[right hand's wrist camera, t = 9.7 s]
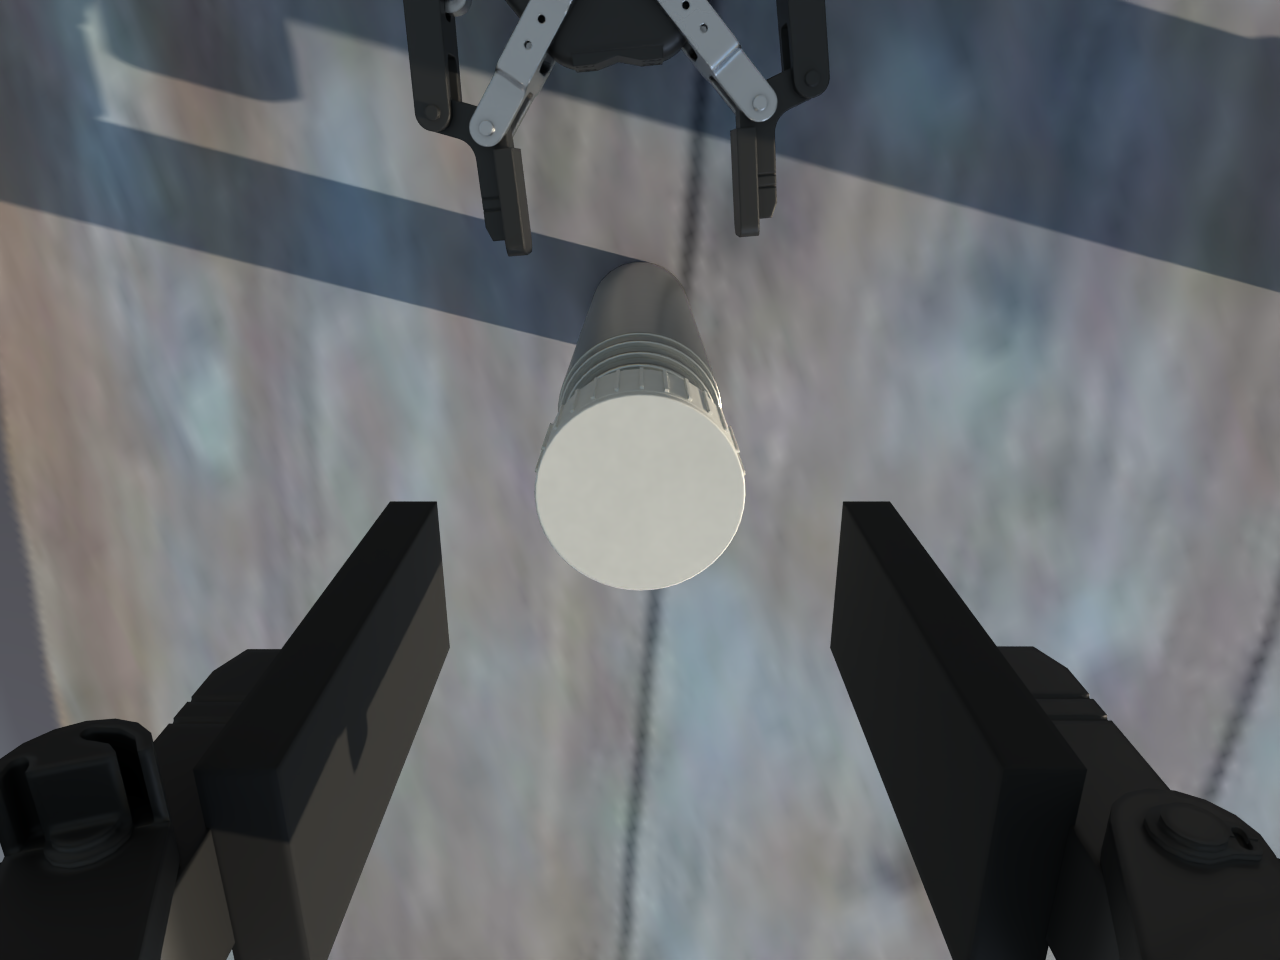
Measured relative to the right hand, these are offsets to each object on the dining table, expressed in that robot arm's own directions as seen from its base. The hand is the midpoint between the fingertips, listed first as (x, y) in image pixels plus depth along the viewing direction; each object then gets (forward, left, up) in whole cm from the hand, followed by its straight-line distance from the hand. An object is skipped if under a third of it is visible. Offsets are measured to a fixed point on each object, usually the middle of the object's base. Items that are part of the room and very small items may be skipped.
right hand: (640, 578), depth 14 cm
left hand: (+1, +3, -20) cm, 21 cm away
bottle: (0, 0, -27) cm, 27 cm away
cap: (0, 0, -4) cm, 4 cm away
